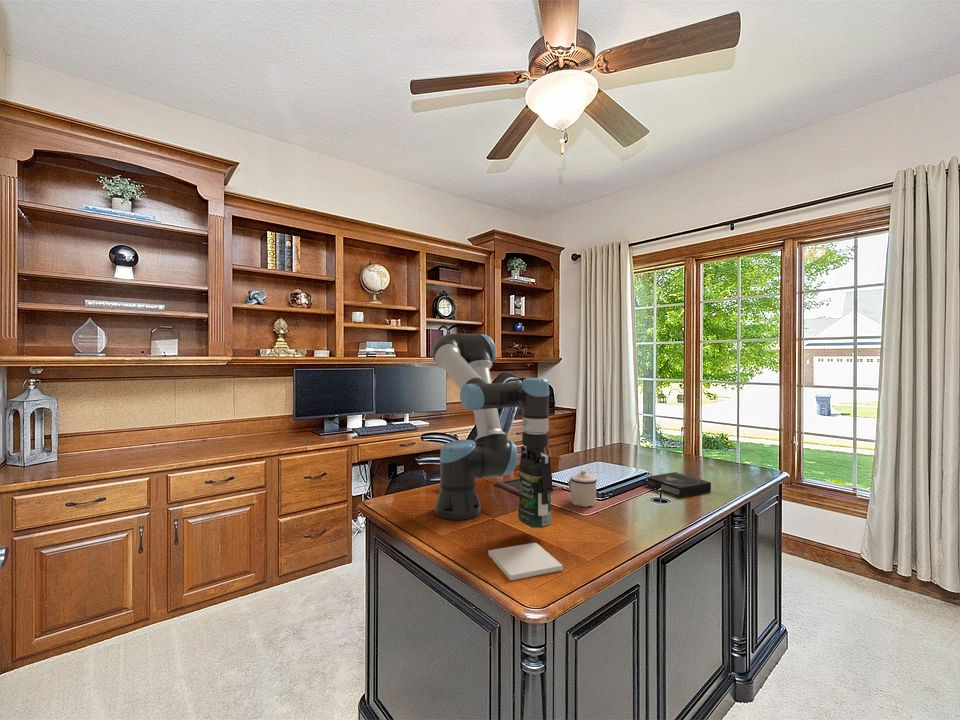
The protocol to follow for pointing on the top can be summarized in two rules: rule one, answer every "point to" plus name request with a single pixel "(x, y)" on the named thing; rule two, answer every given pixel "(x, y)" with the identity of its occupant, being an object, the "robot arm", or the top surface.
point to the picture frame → (515, 485)
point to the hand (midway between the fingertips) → (534, 508)
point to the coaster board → (524, 561)
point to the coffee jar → (531, 495)
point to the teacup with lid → (583, 489)
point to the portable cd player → (679, 484)
